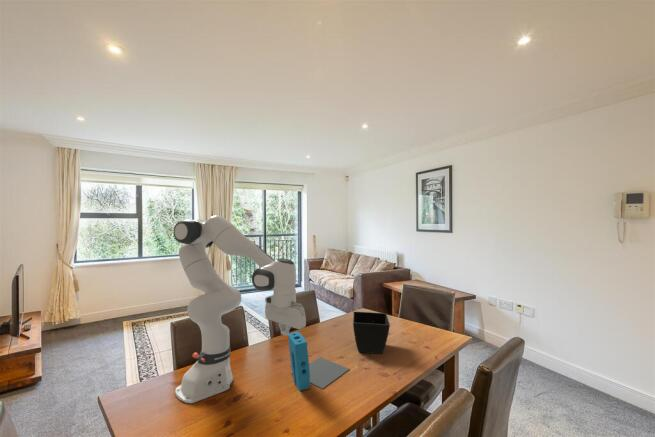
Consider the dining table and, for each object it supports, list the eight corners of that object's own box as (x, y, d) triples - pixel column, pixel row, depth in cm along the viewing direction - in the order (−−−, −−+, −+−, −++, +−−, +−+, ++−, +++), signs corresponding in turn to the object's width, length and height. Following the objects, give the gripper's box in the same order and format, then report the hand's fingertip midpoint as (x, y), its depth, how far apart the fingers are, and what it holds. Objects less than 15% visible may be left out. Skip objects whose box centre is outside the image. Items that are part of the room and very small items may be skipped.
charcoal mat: (322, 389, 118) (322, 388, 118) (291, 374, 129) (291, 373, 129) (349, 369, 134) (349, 368, 134) (320, 357, 145) (320, 357, 145)
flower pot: (386, 341, 165) (386, 312, 165) (390, 357, 146) (390, 324, 146) (353, 340, 167) (353, 311, 167) (352, 355, 148) (353, 322, 148)
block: (312, 389, 117) (307, 341, 116) (300, 393, 115) (295, 345, 114) (302, 374, 128) (298, 331, 127) (291, 378, 126) (287, 334, 125)
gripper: (309, 302, 110) (309, 338, 110) (274, 294, 122) (274, 326, 122) (298, 306, 105) (298, 344, 105) (262, 297, 118) (262, 331, 117)
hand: (284, 334), depth 114 cm, fingers closed
